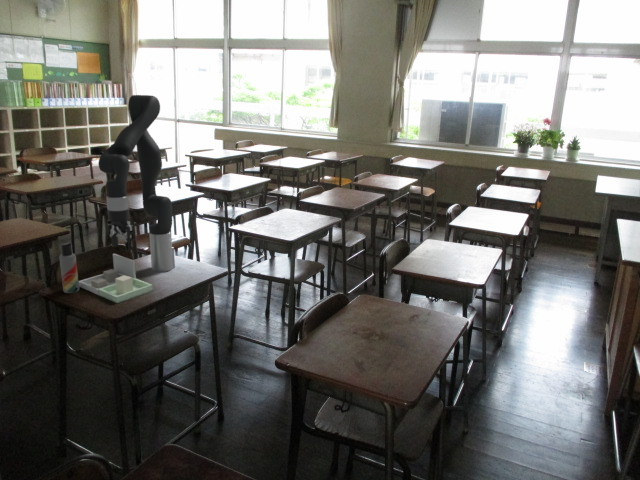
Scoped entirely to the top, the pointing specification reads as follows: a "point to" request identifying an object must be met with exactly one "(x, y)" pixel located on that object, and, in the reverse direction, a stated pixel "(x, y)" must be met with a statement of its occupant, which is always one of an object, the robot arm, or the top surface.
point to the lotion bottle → (68, 269)
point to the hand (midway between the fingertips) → (121, 248)
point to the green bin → (138, 290)
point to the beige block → (124, 284)
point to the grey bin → (88, 286)
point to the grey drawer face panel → (124, 265)
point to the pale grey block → (99, 283)
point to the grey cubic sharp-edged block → (110, 275)
